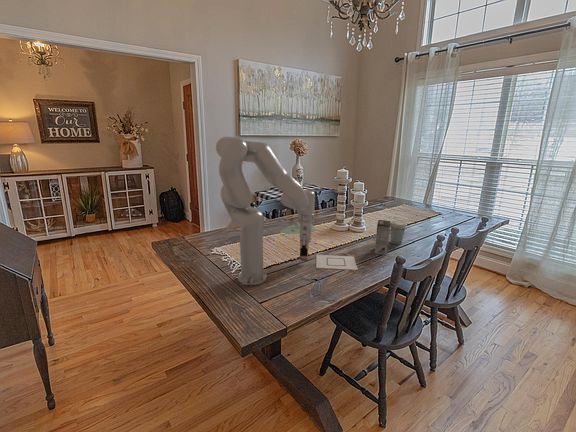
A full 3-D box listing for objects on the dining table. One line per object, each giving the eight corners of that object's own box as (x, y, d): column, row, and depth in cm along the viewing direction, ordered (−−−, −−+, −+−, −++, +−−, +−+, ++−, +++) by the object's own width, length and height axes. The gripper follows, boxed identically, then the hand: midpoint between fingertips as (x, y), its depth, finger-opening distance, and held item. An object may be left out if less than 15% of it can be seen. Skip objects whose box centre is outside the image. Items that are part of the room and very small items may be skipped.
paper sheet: (357, 270, 141) (357, 269, 140) (316, 268, 142) (316, 267, 142) (353, 257, 155) (353, 256, 155) (316, 255, 157) (316, 254, 157)
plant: (296, 238, 182) (296, 224, 180) (272, 230, 196) (272, 217, 194) (322, 229, 199) (322, 216, 197) (299, 222, 213) (299, 210, 211)
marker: (307, 261, 144) (309, 237, 141) (299, 260, 144) (300, 236, 141) (308, 257, 148) (309, 234, 145) (299, 257, 148) (300, 233, 145)
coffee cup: (390, 239, 181) (392, 219, 177) (405, 241, 176) (407, 222, 173) (386, 243, 174) (388, 223, 170) (402, 246, 169) (404, 226, 166)
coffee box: (376, 247, 168) (378, 219, 163) (388, 249, 166) (391, 220, 161) (374, 253, 160) (376, 224, 155) (386, 255, 157) (390, 225, 153)
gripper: (313, 222, 132) (311, 261, 137) (314, 213, 148) (312, 248, 153) (296, 221, 133) (294, 260, 138) (298, 212, 149) (297, 247, 154)
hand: (303, 253), depth 145 cm, fingers closed on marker, 4 cm apart
